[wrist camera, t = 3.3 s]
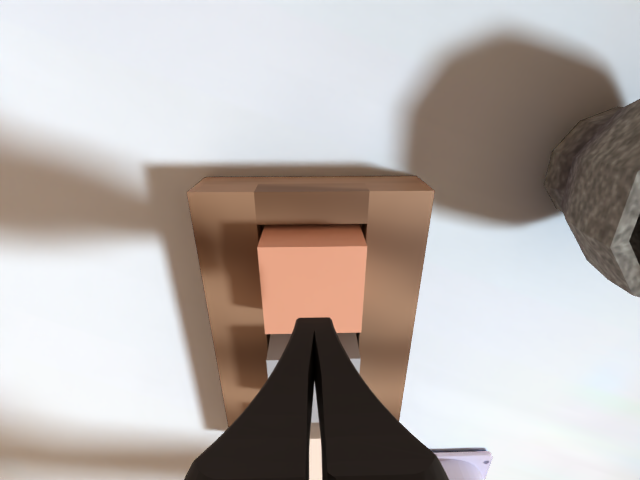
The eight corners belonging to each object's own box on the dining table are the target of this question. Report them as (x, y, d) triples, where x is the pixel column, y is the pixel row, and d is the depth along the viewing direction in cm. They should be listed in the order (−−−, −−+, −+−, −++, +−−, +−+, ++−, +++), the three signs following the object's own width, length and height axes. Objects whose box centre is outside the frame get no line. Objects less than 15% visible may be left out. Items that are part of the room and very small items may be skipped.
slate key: (349, 374, 22) (356, 421, 19) (277, 376, 22) (272, 423, 19) (352, 316, 20) (360, 358, 17) (273, 317, 20) (266, 360, 17)
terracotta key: (353, 294, 20) (361, 332, 17) (272, 295, 20) (264, 334, 17) (357, 218, 18) (367, 246, 15) (266, 219, 18) (257, 247, 15)
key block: (383, 429, 28) (391, 466, 25) (243, 432, 27) (236, 470, 25) (416, 175, 18) (434, 190, 16) (205, 177, 18) (186, 192, 15)
